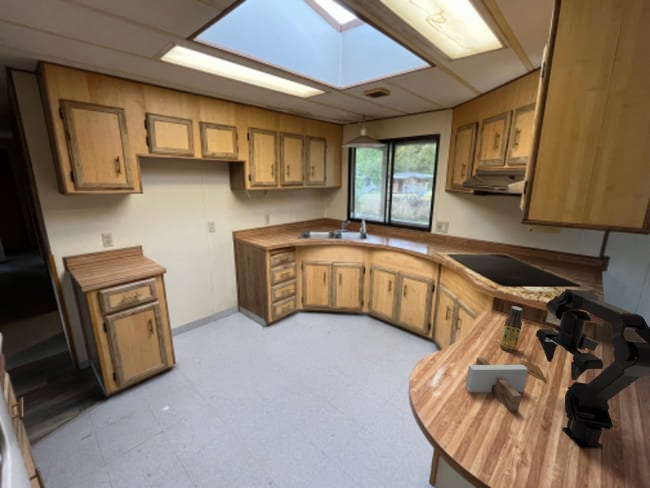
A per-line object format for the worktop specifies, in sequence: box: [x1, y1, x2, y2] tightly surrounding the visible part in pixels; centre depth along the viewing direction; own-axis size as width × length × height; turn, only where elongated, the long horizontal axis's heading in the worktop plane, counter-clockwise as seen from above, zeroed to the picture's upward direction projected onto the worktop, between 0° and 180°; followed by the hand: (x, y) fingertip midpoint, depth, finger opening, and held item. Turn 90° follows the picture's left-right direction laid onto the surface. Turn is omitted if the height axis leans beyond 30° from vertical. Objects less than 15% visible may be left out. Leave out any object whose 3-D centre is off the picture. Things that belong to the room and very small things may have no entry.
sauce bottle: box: [499, 305, 523, 353], centre depth 124 cm, size 7×6×20 cm
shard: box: [518, 359, 548, 383], centre depth 111 cm, size 11×8×2 cm
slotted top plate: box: [465, 364, 529, 393], centre depth 100 cm, size 20×2×9 cm, turn 93°
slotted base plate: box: [475, 357, 522, 413], centre depth 100 cm, size 20×2×6 cm, turn 3°
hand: (561, 370), depth 93 cm, fingers open, 9 cm apart
